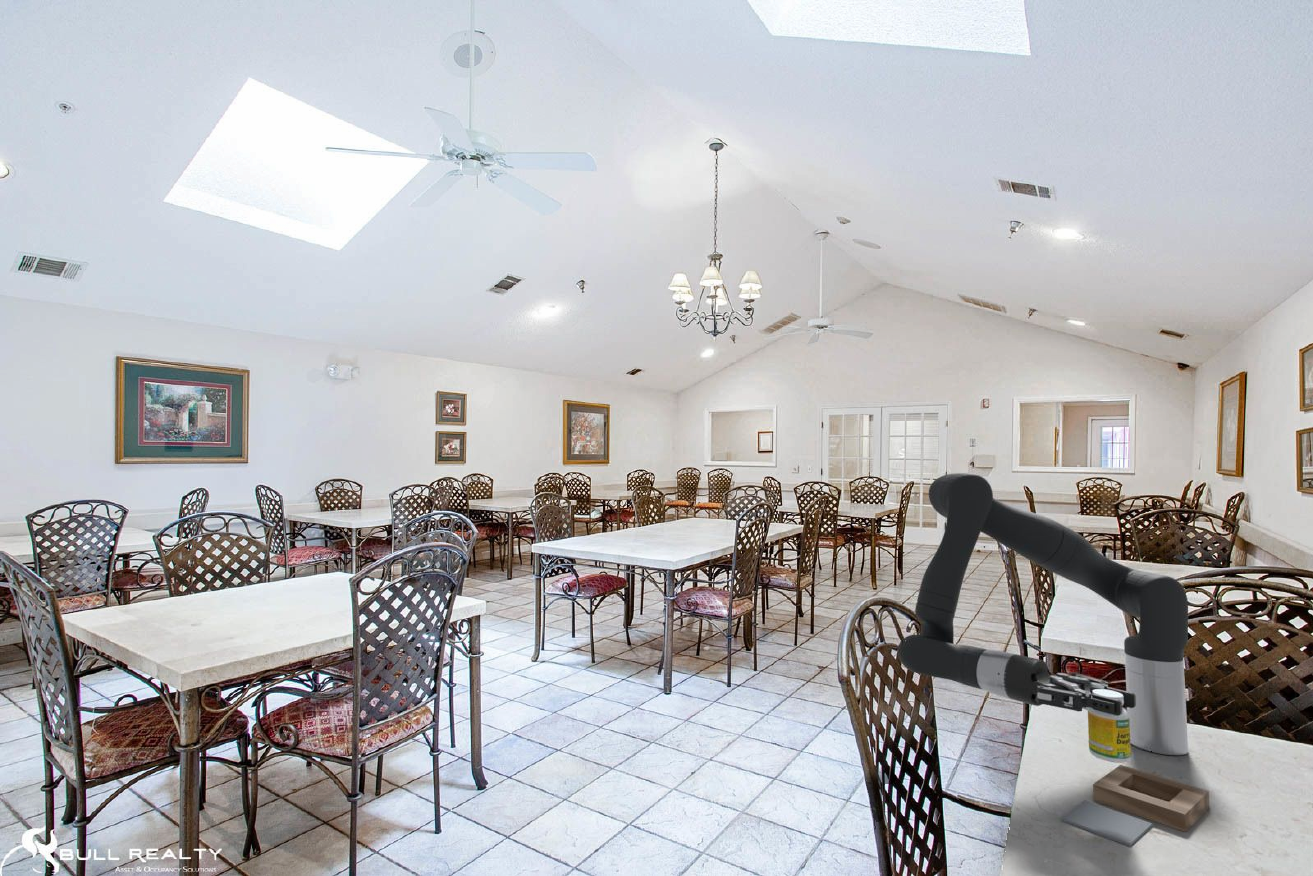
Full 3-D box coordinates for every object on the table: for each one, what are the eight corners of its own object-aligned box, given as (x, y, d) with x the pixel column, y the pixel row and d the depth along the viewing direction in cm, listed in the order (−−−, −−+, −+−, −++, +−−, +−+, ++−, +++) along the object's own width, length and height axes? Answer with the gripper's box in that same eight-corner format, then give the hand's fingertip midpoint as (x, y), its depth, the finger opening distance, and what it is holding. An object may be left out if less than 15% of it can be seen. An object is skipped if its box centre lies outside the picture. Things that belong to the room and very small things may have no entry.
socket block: (1121, 779, 113) (1120, 764, 113) (1209, 807, 104) (1208, 791, 104) (1093, 800, 106) (1092, 784, 106) (1185, 832, 97) (1184, 814, 97)
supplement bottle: (1098, 746, 105) (1096, 685, 105) (1137, 758, 100) (1135, 694, 101) (1082, 754, 102) (1080, 691, 102) (1121, 767, 97) (1119, 701, 98)
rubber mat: (1085, 802, 105) (1084, 800, 105) (1152, 826, 98) (1152, 823, 98) (1060, 820, 100) (1060, 817, 100) (1130, 846, 93) (1130, 843, 93)
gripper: (991, 661, 109) (1108, 688, 95) (1031, 647, 117) (1144, 671, 104) (992, 707, 109) (1110, 741, 95) (1032, 690, 117) (1146, 719, 103)
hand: (1127, 704), depth 99 cm, fingers closed on supplement bottle, 5 cm apart
